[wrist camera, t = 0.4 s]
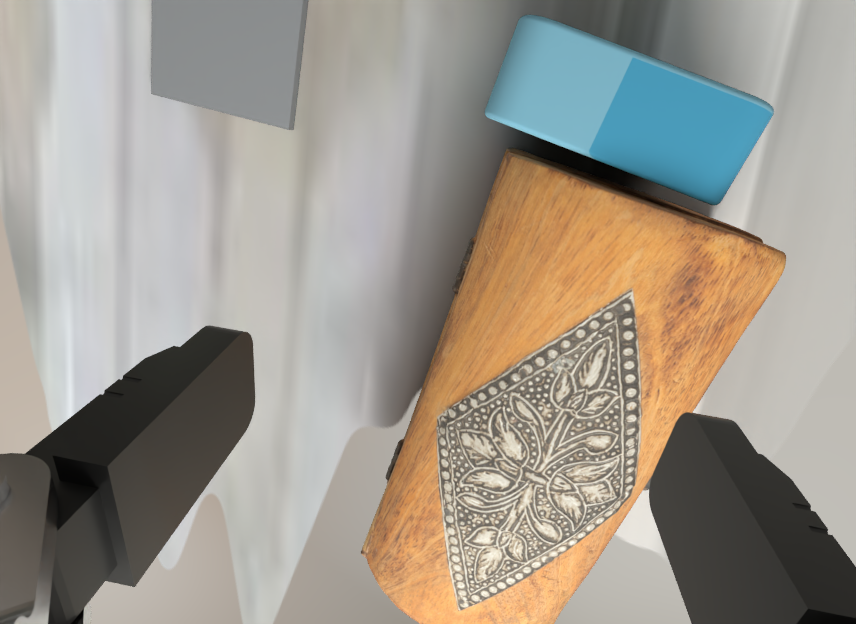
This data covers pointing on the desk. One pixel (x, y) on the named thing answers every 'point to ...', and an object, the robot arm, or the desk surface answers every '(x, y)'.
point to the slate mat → (230, 56)
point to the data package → (626, 108)
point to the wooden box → (555, 389)
